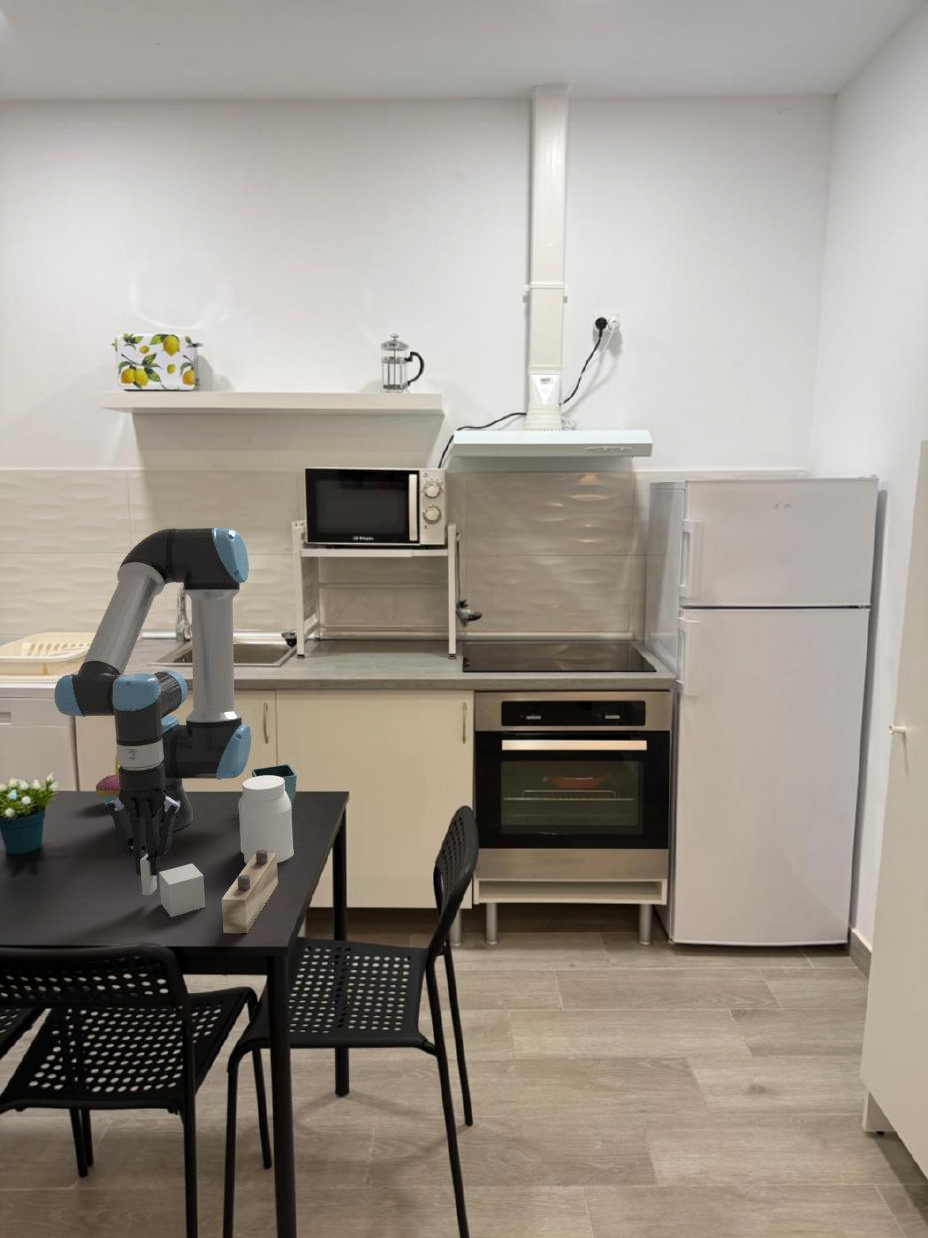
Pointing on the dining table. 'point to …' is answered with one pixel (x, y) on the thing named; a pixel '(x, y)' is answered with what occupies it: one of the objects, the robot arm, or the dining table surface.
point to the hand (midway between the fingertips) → (149, 891)
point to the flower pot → (284, 773)
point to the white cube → (182, 889)
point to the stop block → (249, 892)
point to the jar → (265, 818)
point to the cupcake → (109, 787)
